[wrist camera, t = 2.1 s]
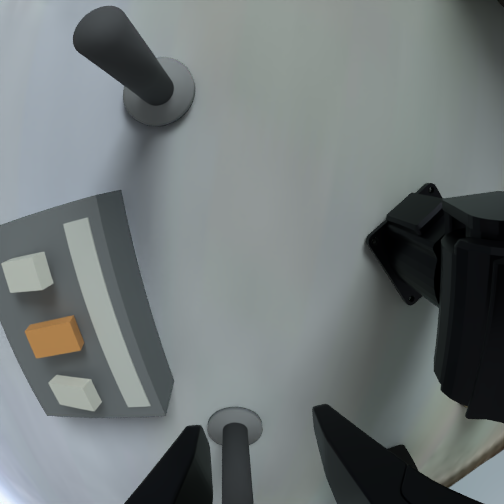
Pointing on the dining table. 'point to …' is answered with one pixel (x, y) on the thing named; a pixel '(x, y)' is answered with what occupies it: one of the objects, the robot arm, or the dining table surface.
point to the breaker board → (87, 309)
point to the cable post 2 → (235, 450)
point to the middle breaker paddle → (54, 337)
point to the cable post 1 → (135, 67)
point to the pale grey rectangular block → (27, 273)
